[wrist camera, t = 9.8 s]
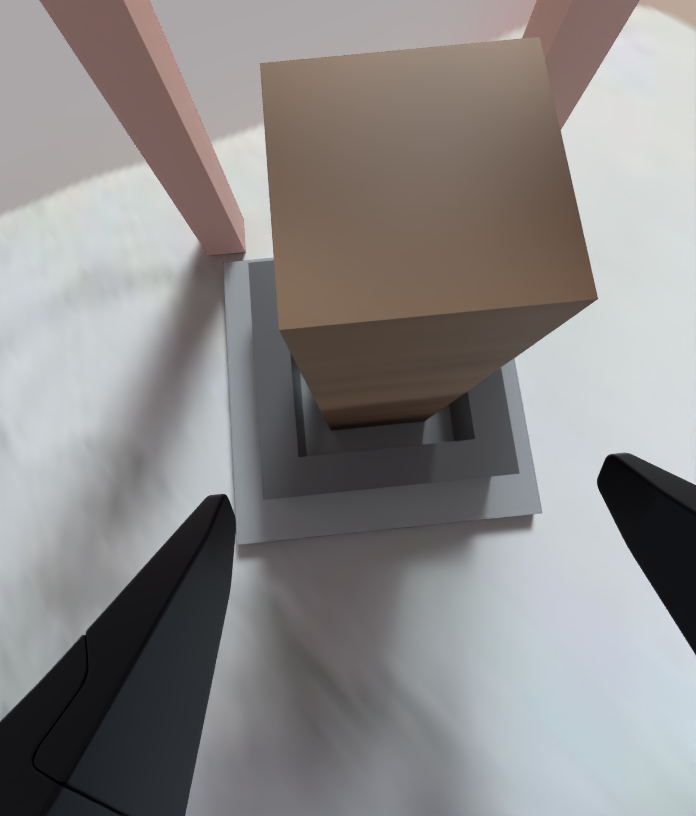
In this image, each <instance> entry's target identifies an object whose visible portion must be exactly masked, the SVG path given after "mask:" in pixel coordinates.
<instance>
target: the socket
mask: <svg viewBox="0 0 696 816" xmlns="http://www.w3.org/2000/svg"><path fill="white" fill-rule="evenodd" d="M223 271H224V291H225V311H226V331H227V351H228V371H229V391H230V411H231V431H232V451H233V471H234V492H235V512H236V532H237V545H240V544H250V543H260V542H269V541H279V540H289V539H298V538H308V537H318V536H327V535H337V534H347V533H356V532H366V531H375V530H385V529H395V528H404V527H414V526H424V525H433V524H443V523H453V522H462V521H472V520H482V519H491V518H501V517H511V516H520V515H530V514H540V513H542V508H541V502H540V497H539V491H538V486H537V480H536V475H535V469H534V464H533V458H532V453H531V447H530V442H529V436H528V431H527V425H526V420H525V414H524V409H523V403H522V398H521V392H520V387H519V381H518V376H517V370H516V365H515V359H512V360H511V361H510V362H508V363H507V364H505V365H504V366H502V367H501V368H500V369H498V370H497V371H495V372H494V373H493V374H491V375H490V376H488V377H487V378H485V379H484V380H483V381H481V382H480V383H478V384H477V385H476V386H474V387H473V388H471V389H470V390H469V391H467V392H466V393H464V394H463V395H461V396H460V397H459V398H457V399H456V400H454V401H453V402H452V403H450V404H449V405H447V406H446V407H444V408H443V409H442V410H440V411H439V412H437V413H436V414H435V415H433V416H432V417H430V418H429V419H428V420H426V421H424V422H414V423H404V424H394V425H384V426H374V427H364V428H353V429H343V430H333V431H331V430H330V428H329V426H328V424H327V422H326V420H325V418H324V416H323V414H322V413H321V411H320V409H319V407H318V405H317V403H316V401H315V399H314V397H313V395H312V393H311V391H310V389H309V387H308V385H307V383H306V381H305V380H304V378H303V376H302V374H301V372H300V370H299V368H298V366H297V364H296V362H295V360H294V358H293V356H292V354H291V352H290V350H289V349H288V347H287V345H286V343H285V341H284V339H283V337H282V335H281V333H280V331H279V323H278V309H277V295H276V281H275V267H274V258H265V259H255V260H245V261H235V262H225V263H223Z"/></svg>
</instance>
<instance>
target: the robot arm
mask: <svg viewBox="0 0 696 816" xmlns="http://www.w3.org/2000/svg"><path fill="white" fill-rule="evenodd" d="M597 485H598V489H599V491H600V493H601V495H602V497H603V499H604V501H605V503H606V505H607V507H608V509H609V511H610V513H611V515H612V517H613V519H614V521H615V523H616V525H617V527H618V529H619V531H620V533H621V535H622V537H623V539H624V541H625V543H626V545H627V546H628V548H629V550H630V551H631V553H632V555H633V556H634V558H635V560H636V561H637V563H638V564H639V566H640V568H641V569H642V571H643V572H644V574H645V576H646V577H647V579H648V580H649V582H650V583H651V585H652V587H653V588H654V590H655V591H656V593H657V594H658V596H659V598H660V599H661V601H662V602H663V604H664V606H665V607H666V609H667V610H668V612H669V613H670V615H671V617H672V618H673V620H674V621H675V623H676V625H677V626H678V628H679V629H680V631H681V632H682V634H683V636H684V637H685V639H686V640H687V642H688V643H689V645H690V647H691V648H692V650H693V651H694V653H695V655H696V485H694V484H692V483H690V482H688V481H686V480H684V479H682V478H680V477H678V476H676V475H673V474H671V473H669V472H667V471H665V470H663V469H661V468H659V467H657V466H655V465H653V464H651V463H649V462H646V461H644V460H642V459H640V458H638V457H636V456H634V455H632V454H629V453H617V454H610V455H608V456H607V457H606V459H605V461H604V463H603V466H602V468H601V471H600V473H599V476H598V478H597ZM235 533H236V518H235V515H234V512H233V509H232V507H231V504H230V501H229V499H228V497H227V496H226V495H225V494H218V495H210V496H208V497H206V498H205V499H204V500H203V502H202V503H201V504H200V505H199V506H198V507H197V508H196V509H195V510H194V512H193V513H192V514H191V515H190V516H189V517H188V518H187V519H186V520H185V522H184V523H183V524H182V525H181V526H180V527H179V528H178V529H177V530H176V532H175V533H174V534H173V535H172V536H171V537H170V538H169V539H168V540H167V542H166V543H165V544H164V545H163V546H162V547H161V548H160V549H159V551H158V552H157V553H156V554H155V555H154V556H153V557H152V558H151V559H150V561H149V562H148V563H147V564H146V565H145V566H144V567H143V568H142V569H141V571H140V572H139V573H138V574H137V575H136V576H135V577H134V578H133V579H132V581H131V582H130V583H129V584H128V585H127V586H126V587H125V588H124V589H123V591H122V592H121V593H120V594H119V595H118V596H117V597H116V598H115V600H114V601H113V602H112V603H111V604H110V605H109V606H108V607H107V608H106V610H105V611H104V612H103V613H102V614H101V615H100V616H99V617H98V618H97V620H96V621H95V622H94V623H93V624H92V625H91V626H90V627H89V628H88V630H87V631H86V635H82V636H81V637H80V638H79V639H78V641H77V642H76V643H75V644H74V645H73V646H72V647H71V648H70V649H69V651H68V652H67V653H66V654H65V655H64V656H63V657H62V658H61V659H60V660H59V661H58V662H57V664H56V665H55V666H54V667H53V668H52V669H51V670H50V671H49V672H48V673H47V674H46V675H45V676H44V678H43V679H42V680H41V681H40V682H39V683H38V684H37V685H36V686H35V687H34V688H33V689H32V690H31V691H30V692H29V693H28V694H27V695H26V696H25V697H24V698H23V699H22V700H21V701H20V702H19V703H18V704H17V705H16V706H15V707H14V708H13V709H12V710H11V711H10V712H9V713H8V714H7V715H6V716H5V717H4V718H3V719H2V720H1V721H0V816H185V813H186V808H187V803H188V798H189V793H190V788H191V783H192V778H193V773H194V768H195V763H196V759H197V754H198V749H199V744H200V739H201V734H202V729H203V724H204V719H205V714H206V709H207V704H208V699H209V694H210V689H211V684H212V679H213V674H214V669H215V664H216V659H217V654H218V649H219V644H220V639H221V635H222V630H223V625H224V620H225V615H226V610H227V605H228V600H229V594H230V588H231V579H232V568H233V556H234V545H235Z"/></svg>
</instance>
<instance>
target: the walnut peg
mask: <svg viewBox="0 0 696 816" xmlns="http://www.w3.org/2000/svg"><path fill="white" fill-rule="evenodd" d="M260 70H261V84H262V98H263V111H264V126H265V140H266V155H267V169H268V183H269V197H270V211H271V225H272V239H273V253H274V267H275V281H276V295H277V309H278V323H279V331H280V333H281V335H282V337H283V339H284V341H285V343H286V345H287V347H288V349H289V350H290V352H291V354H292V356H293V358H294V360H295V362H296V364H297V366H298V368H299V370H300V372H301V374H302V376H303V378H304V380H305V381H306V383H307V385H308V387H309V389H310V391H311V393H312V395H313V397H314V399H315V401H316V403H317V405H318V407H319V409H320V411H321V413H322V414H323V416H324V418H325V420H326V422H327V424H328V426H329V428H330V430H331V431H333V430H343V429H353V428H364V427H374V426H384V425H394V424H404V423H414V422H424V421H426V420H428V419H429V418H430V417H432V416H433V415H435V414H436V413H437V412H439V411H440V410H442V409H443V408H444V407H446V406H447V405H449V404H450V403H452V402H453V401H454V400H456V399H457V398H459V397H460V396H461V395H463V394H464V393H466V392H467V391H469V390H470V389H471V388H473V387H474V386H476V385H477V384H478V383H480V382H481V381H483V380H484V379H485V378H487V377H488V376H490V375H491V374H493V373H494V372H495V371H497V370H498V369H500V368H501V367H502V366H504V365H505V364H507V363H508V362H510V361H511V360H512V359H514V358H515V357H517V356H518V355H519V354H521V353H522V352H524V351H525V350H526V349H528V348H529V347H531V346H532V345H534V344H535V343H536V342H538V341H539V340H541V339H542V338H543V337H545V336H546V335H548V334H549V333H551V332H552V331H553V330H555V329H556V328H558V327H559V326H560V325H562V324H563V323H565V322H566V321H567V320H569V319H570V318H572V317H573V316H575V315H576V314H577V313H579V312H580V311H582V310H583V309H584V308H586V307H587V306H589V305H590V304H592V303H593V302H594V301H596V300H597V299H598V297H597V292H596V288H595V283H594V279H593V274H592V270H591V265H590V261H589V256H588V252H587V247H586V243H585V238H584V234H583V229H582V225H581V220H580V216H579V211H578V207H577V202H576V198H575V193H574V189H573V184H572V180H571V175H570V171H569V166H568V162H567V158H566V153H565V149H564V144H563V140H562V135H561V131H560V126H559V122H558V117H557V113H556V108H555V104H554V99H553V95H552V90H551V86H550V81H549V77H548V72H547V68H546V63H545V59H544V54H543V50H542V45H541V41H540V37H535V38H524V39H513V40H503V41H492V42H482V43H471V44H461V45H451V46H439V47H428V48H418V49H407V50H397V51H386V52H375V53H365V54H354V55H343V56H333V57H322V58H311V59H301V60H290V61H280V62H269V63H260Z"/></svg>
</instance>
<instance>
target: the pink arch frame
mask: <svg viewBox="0 0 696 816" xmlns="http://www.w3.org/2000/svg"><path fill="white" fill-rule="evenodd" d="M40 2H41V3H42V4H43V6H44V7H45V9H46V10H47V12H48V14H49V15H50V17H51V18H52V20H53V21H54V23H55V24H56V26H57V27H58V29H59V30H60V32H61V33H62V35H63V36H64V38H65V39H66V41H67V42H68V44H69V45H70V47H71V48H72V50H73V51H74V53H75V54H76V56H77V57H78V59H79V60H80V62H81V64H82V65H83V67H84V68H85V69H86V71H87V73H88V74H89V76H90V77H91V79H92V80H93V82H94V83H95V85H96V86H97V88H98V89H99V91H100V92H101V94H102V95H103V97H104V98H105V100H106V101H107V103H108V104H109V106H110V107H111V109H112V110H113V112H114V113H115V115H116V116H117V118H118V119H119V121H120V122H121V123H122V125H123V127H124V128H125V130H126V131H127V133H128V134H129V136H130V137H131V139H132V141H133V142H134V144H135V145H136V147H137V148H138V150H139V151H140V153H141V154H142V155H143V157H144V159H145V160H146V162H147V163H148V165H149V166H150V168H151V169H152V171H153V172H154V174H155V175H156V177H157V178H158V180H159V181H160V183H161V184H162V186H163V187H164V189H165V190H166V192H167V193H168V195H169V196H170V198H171V199H172V201H173V202H174V204H175V205H176V207H177V208H178V210H179V211H180V213H181V214H182V216H183V217H184V219H185V221H186V222H187V224H188V225H189V227H190V228H191V230H192V231H193V233H194V234H195V236H196V237H197V239H198V240H199V242H200V243H201V245H202V246H203V248H204V249H205V251H206V252H207V254H208V255H209V256H210V255H220V254H230V253H240V252H246V251H245V234H244V219H243V216H242V214H241V212H240V209H239V207H238V205H237V202H236V200H235V198H234V195H233V193H232V191H231V188H230V186H229V184H228V181H227V179H226V177H225V174H224V172H223V170H222V168H221V165H220V163H219V161H218V158H217V156H216V154H215V151H214V149H213V147H212V144H211V142H210V140H209V137H208V135H207V133H206V130H205V128H204V126H203V123H202V121H201V119H200V116H199V114H198V112H197V109H196V107H195V105H194V102H193V100H192V98H191V95H190V93H189V91H188V88H187V86H186V84H185V82H184V79H183V77H182V75H181V72H180V70H179V68H178V65H177V63H176V60H175V58H174V56H173V54H172V51H171V49H170V46H169V44H168V42H167V39H166V37H165V35H164V32H163V30H162V28H161V25H160V23H159V21H158V18H157V16H156V14H155V12H154V9H153V7H152V5H151V2H150V0H40ZM638 2H639V0H537V2H536V4H535V7H534V10H533V12H532V15H531V17H530V20H529V22H528V25H527V27H526V30H525V32H524V35H523V38H522V39H524V38H535V37H540V41H541V45H542V50H543V54H544V59H545V63H546V68H547V72H548V77H549V81H550V86H551V90H552V95H553V99H554V104H555V108H556V113H557V117H558V122H559V126H560V130H561V129H562V127H563V125H564V124H565V122H566V120H567V119H568V117H569V116H570V114H571V112H572V111H573V109H574V107H575V106H576V104H577V102H578V101H579V99H580V97H581V96H582V94H583V92H584V91H585V89H586V88H587V86H588V84H589V83H590V81H591V79H592V78H593V76H594V74H595V73H596V71H597V69H598V68H599V66H600V65H601V63H602V61H603V60H604V58H605V56H606V55H607V53H608V51H609V50H610V48H611V46H612V45H613V43H614V41H615V40H616V38H617V37H618V35H619V33H620V32H621V30H622V28H623V27H624V25H625V23H626V22H627V20H628V18H629V17H630V15H631V14H632V12H633V10H634V9H635V7H636V5H637V4H638Z"/></svg>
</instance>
